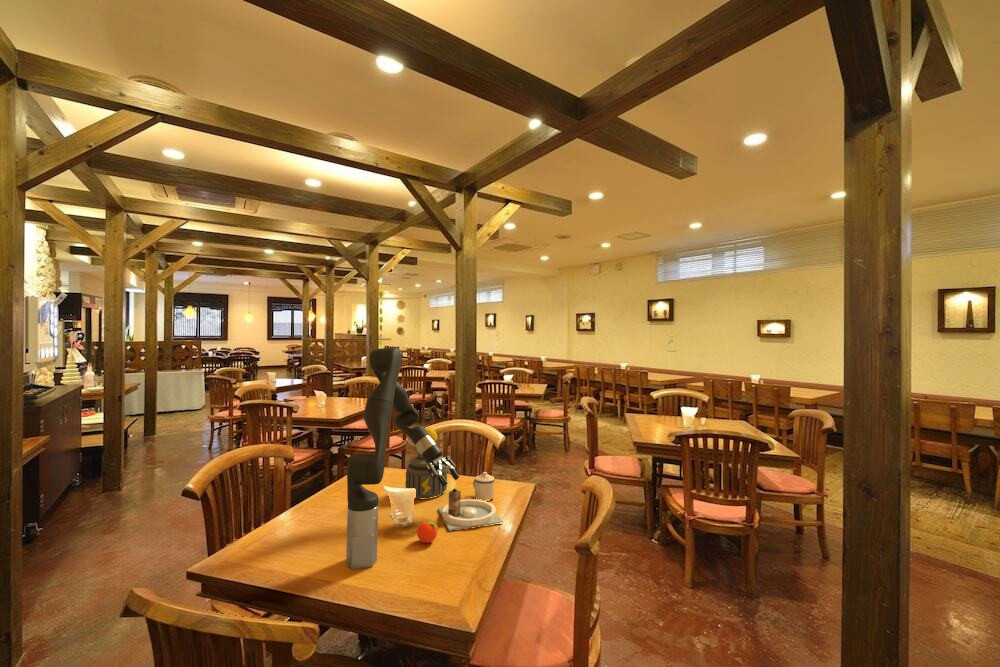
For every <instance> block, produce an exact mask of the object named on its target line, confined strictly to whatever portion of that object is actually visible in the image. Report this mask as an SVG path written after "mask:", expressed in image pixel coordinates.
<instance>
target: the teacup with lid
mask: <svg viewBox="0 0 1000 667" xmlns="http://www.w3.org/2000/svg"><path fill="white" fill-rule="evenodd" d="M472 485H473V488H474V498H475V497H476V498H477V499H482V500H486V499H491V498H493V497H494V498H495V477H494V476H493V475H490V474H488V472H487V471H483V472H482V474H480V475H477V476H475V477H474V479H473V482H472Z"/></svg>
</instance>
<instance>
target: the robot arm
mask: <svg viewBox="0 0 1000 667" xmlns="http://www.w3.org/2000/svg"><path fill="white" fill-rule="evenodd" d="M368 359H369V365H370V367H371V370H372V372H373V373H374V375H375V376H376V377H375V378H377V380H378V381H379V383H378V384H377V385H376V387H375V388H374V389H373V390H372V391H371V393H370V394H369V395H368V396H367V398H366V402H365V407H364V411H363V421H364V423H365V426H366V427H367V429H368V431H369V433H370V435H371V436H372V437H371V438H372V440H373V442H374V453H357V454H351V456H350V457H349V459H348V462H347V467H346V481H347V482H346V483H347V484H346V486H347V493H346V494H347V497H346V498H347V519H346V520H347V521H346V546H345V548H346V551H345V552H346V554H345V555H346V560H345V561H346V562H345V565H346V566H347V567H348V568H349V569H350V571H351V570H359V569H365V568H372V567H373V566H374V564H376V562H377V560H378V533H379V530H378V528H379V521H378V520H379V496H378V494H377V493H376V492H373V491H371V490H369V489H367V488H366V487H364V486H363V485H365V486H366V485H371V486H373V485H379V484H380V483H381V482H382V481H383V477H384V473H385V465H386V464H385V463H386V455H387V444H388V436H389V431H390V424H391V419H392V414H393V410H394V411H395V412H396V413H398V414H396V415H395V417H394V418H393V423H394V425H395V426H396V428H397V429H399V431H401V432H402V433H404V434H405V435H406V436H407V437H409V439H410V440H411V441H412V443H413V445H415V448H416V450H417V451H418V453H420V454H421V456H422V457H423V458H424V460H425V461H426V463H427V464H428V465H427V466H426V469H427V471H428V472H429V474H430V475H431V477H432V478H433V479H435V478H436V479H438V480H439V482H440V483H441V484H442V485H443V486H446V485H447V486H448V480H447V481H446V479H445V478H444V477H443V475H442V473H441V471H442V470H445V471H447V473H448V472H449V473H450V475H451V477H452V478H453V479H454V481H457V480H459V478H460V476H459V474H458V472H457V471H456V467H457V465H456V463H455V462H454V461H453V460H452V458H451V457H450V456H449V455H446V456H445V457H444V456H443V451H442V449H441V448H440V447H439V446H438V444H437V441H436V442H435V441H434V440H433V439H432V438H431V436H430V435H429V434H428V432H427V431H426V430H425V428H426V427H424V426H423V425H418V426H414V427H411V426H412V425H414V424H416V423H417V422H418V421H419V420H420V414H419V412H418V410H417V409H416V408H415V407H414V406H413V405H412V403H411V401H410V398H409V396H408V393H407V390H406V389H405V387H403V386H402V385H401V384H400V383H399V382H398V379H399V375H400V373H401V372H400V370H401V367H402V360H403V359H402V352H401V350H400V349H399V348H398V347H394V346H393V347H392V346H391V347H384V348H383V347H382V348H376V349H373V350H371V352H370V354H369V358H368ZM433 472H434V475H433ZM441 475H442V476H441Z"/></svg>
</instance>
